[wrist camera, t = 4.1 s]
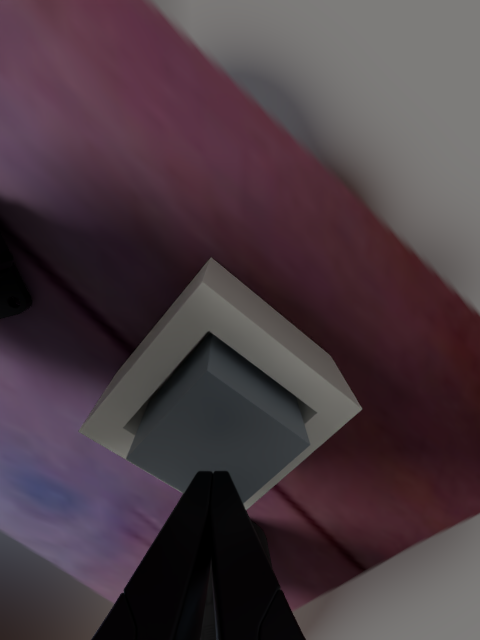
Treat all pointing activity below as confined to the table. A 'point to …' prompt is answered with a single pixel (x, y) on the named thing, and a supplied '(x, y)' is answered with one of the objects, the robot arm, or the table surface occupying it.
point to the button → (219, 422)
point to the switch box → (245, 338)
